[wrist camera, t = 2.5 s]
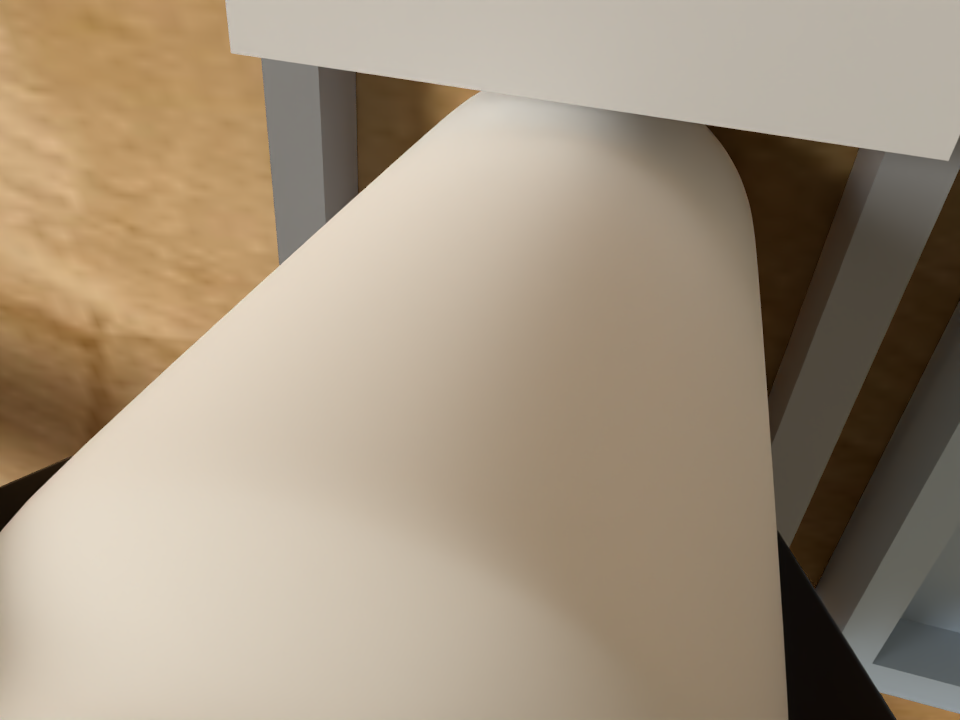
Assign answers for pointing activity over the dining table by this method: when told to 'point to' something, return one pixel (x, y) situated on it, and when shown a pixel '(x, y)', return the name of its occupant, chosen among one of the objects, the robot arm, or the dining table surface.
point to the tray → (908, 547)
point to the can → (440, 460)
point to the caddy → (672, 95)
